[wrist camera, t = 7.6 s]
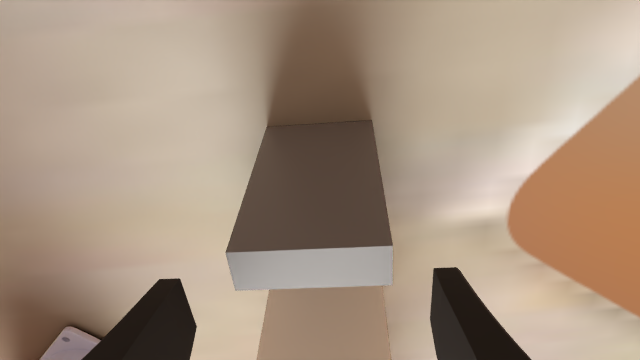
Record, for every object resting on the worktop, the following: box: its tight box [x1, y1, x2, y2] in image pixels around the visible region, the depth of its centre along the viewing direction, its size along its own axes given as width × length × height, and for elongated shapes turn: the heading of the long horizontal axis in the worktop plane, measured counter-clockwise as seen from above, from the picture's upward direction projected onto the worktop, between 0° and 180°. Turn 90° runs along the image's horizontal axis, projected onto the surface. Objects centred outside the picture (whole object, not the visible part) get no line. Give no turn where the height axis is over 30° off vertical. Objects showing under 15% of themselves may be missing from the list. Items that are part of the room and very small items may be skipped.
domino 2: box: [257, 286, 391, 360], centre depth 20 cm, size 2×5×9 cm, turn 95°
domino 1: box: [226, 120, 393, 291], centre depth 17 cm, size 2×5×9 cm, turn 95°
